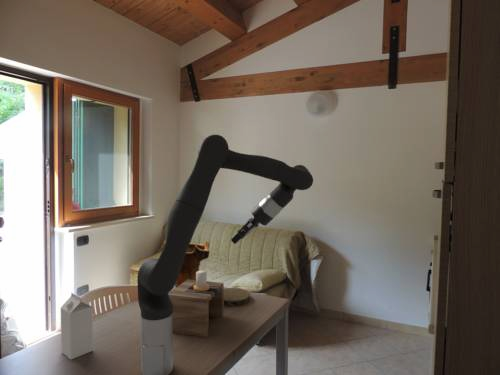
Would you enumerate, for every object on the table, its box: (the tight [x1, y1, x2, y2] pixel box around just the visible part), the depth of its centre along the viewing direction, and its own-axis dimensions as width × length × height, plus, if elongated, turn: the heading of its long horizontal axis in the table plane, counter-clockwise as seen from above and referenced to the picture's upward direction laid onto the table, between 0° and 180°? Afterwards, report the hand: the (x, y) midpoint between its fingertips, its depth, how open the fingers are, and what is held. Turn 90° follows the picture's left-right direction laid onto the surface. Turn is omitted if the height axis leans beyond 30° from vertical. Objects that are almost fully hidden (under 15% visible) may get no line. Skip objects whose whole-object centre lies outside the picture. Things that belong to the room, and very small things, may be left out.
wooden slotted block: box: [168, 279, 225, 338], centre depth 133 cm, size 18×16×14 cm
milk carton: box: [60, 292, 94, 361], centre depth 111 cm, size 7×7×19 cm
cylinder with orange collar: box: [194, 270, 209, 292], centre depth 132 cm, size 6×6×16 cm
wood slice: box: [224, 287, 251, 307], centre depth 158 cm, size 16×16×3 cm
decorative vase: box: [163, 240, 211, 288], centre depth 161 cm, size 21×23×28 cm
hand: (236, 239), depth 125 cm, fingers open, 8 cm apart
